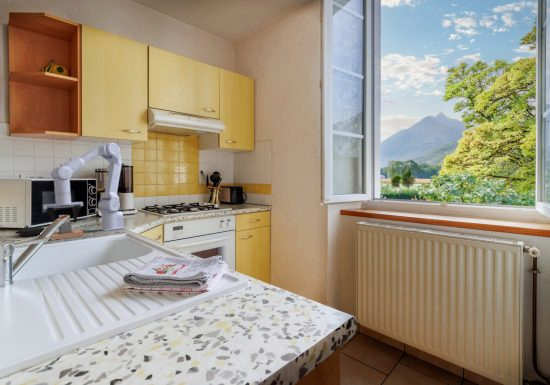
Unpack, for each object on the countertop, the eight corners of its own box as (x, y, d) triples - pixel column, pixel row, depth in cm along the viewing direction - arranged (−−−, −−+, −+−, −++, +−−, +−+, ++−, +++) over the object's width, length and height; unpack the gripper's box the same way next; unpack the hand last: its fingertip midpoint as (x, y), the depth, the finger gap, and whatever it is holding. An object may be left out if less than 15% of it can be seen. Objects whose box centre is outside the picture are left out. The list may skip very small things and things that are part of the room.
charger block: (69, 235, 137) (68, 220, 137) (72, 236, 134) (71, 221, 133) (59, 237, 135) (58, 221, 134) (61, 238, 131) (60, 222, 131)
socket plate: (77, 233, 144) (77, 229, 144) (83, 236, 135) (83, 231, 135) (46, 237, 135) (46, 232, 135) (51, 240, 126) (50, 236, 126)
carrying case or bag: (20, 231, 134) (13, 229, 143) (20, 238, 134) (13, 235, 143) (49, 228, 142) (40, 226, 151) (49, 234, 142) (40, 231, 151)
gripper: (79, 192, 141) (81, 220, 142) (41, 194, 131) (43, 224, 131) (83, 192, 136) (85, 221, 137) (43, 194, 126) (46, 226, 126)
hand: (65, 223), depth 134 cm, fingers open, 7 cm apart
